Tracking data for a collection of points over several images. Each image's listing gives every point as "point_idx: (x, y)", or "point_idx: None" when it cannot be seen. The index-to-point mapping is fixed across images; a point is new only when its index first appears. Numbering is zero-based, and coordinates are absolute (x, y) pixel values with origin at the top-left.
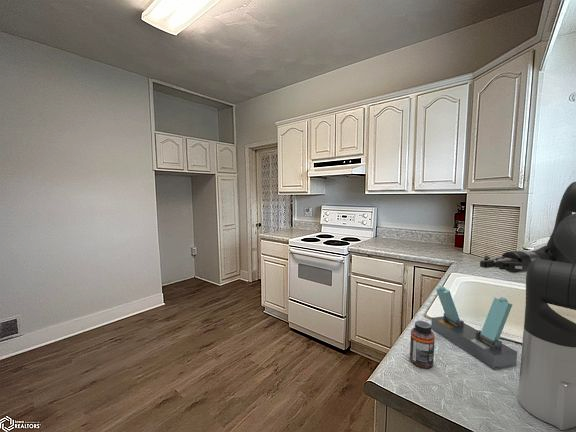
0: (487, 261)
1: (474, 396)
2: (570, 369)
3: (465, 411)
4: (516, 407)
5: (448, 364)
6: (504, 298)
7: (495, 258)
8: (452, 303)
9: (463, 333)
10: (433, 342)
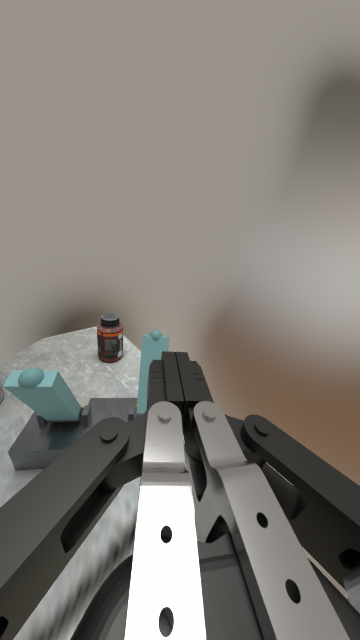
0: (163, 362)
1: (47, 362)
2: None
3: (46, 346)
4: (4, 381)
5: (93, 374)
6: (26, 369)
7: (221, 470)
8: (140, 365)
9: (112, 407)
10: (97, 333)
